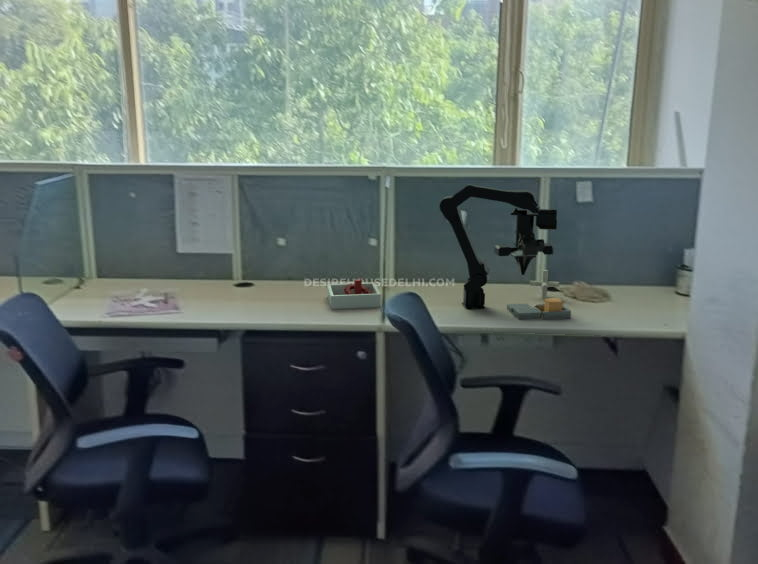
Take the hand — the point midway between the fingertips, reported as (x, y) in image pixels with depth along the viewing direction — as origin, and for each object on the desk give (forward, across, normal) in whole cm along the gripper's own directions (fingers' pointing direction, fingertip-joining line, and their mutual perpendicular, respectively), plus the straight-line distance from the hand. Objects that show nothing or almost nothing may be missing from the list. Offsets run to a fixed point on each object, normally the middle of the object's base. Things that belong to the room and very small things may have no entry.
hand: (522, 274), depth 245 cm
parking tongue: (+12, -1, -1) cm, 12 cm away
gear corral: (+12, -55, +18) cm, 59 cm away
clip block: (+9, +6, -8) cm, 14 cm away
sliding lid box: (+12, +4, -8) cm, 15 cm away
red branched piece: (+12, -52, +18) cm, 57 cm away
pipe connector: (+12, +13, +13) cm, 22 cm away
